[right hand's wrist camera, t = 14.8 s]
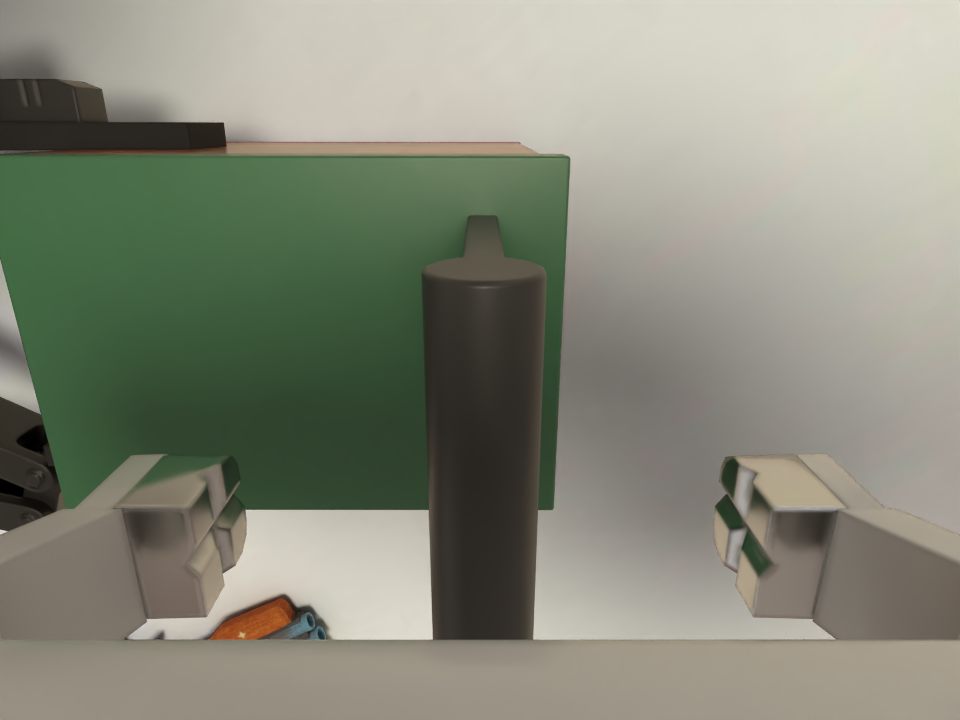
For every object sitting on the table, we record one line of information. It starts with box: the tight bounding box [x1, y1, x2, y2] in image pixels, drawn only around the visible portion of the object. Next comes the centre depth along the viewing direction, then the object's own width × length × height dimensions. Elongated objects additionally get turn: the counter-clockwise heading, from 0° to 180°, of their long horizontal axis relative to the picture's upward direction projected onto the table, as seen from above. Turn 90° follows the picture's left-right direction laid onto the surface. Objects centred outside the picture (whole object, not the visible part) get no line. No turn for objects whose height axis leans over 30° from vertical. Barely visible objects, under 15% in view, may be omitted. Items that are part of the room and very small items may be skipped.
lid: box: [0, 154, 570, 640], centre depth 13 cm, size 14×10×9 cm
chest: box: [13, 142, 538, 154], centre depth 22 cm, size 13×10×10 cm
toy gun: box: [155, 598, 326, 640], centre depth 33 cm, size 3×19×10 cm
